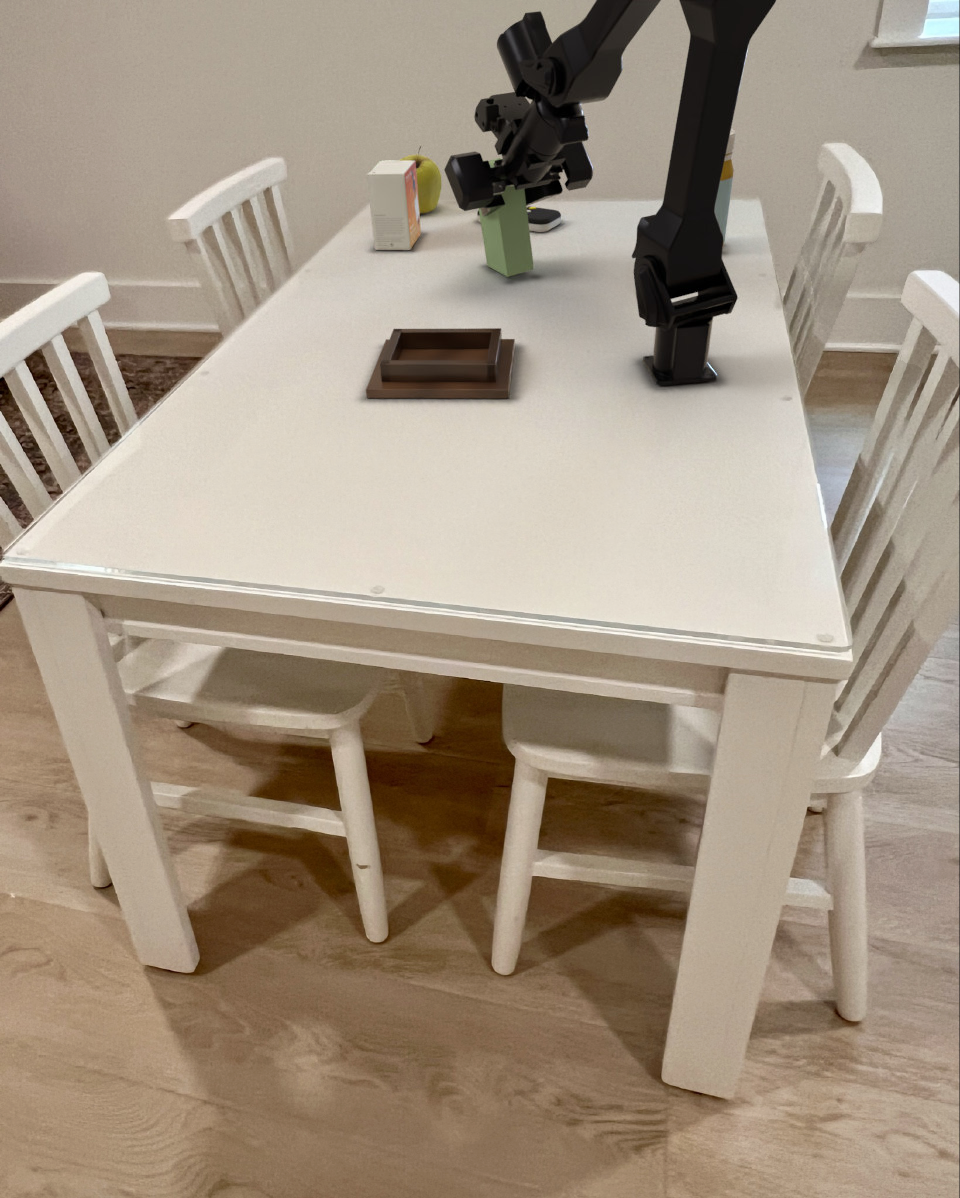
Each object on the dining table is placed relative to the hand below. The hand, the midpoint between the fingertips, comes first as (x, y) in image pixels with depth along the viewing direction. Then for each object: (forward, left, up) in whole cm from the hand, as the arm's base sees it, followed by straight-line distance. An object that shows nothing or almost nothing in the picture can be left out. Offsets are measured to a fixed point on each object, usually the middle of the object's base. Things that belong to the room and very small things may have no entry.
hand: (498, 210), depth 118 cm
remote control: (+20, -6, -8) cm, 22 cm away
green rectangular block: (-2, -1, -7) cm, 7 cm away
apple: (+30, +9, -8) cm, 32 cm away
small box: (+15, +13, -8) cm, 21 cm away
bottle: (+2, -29, -8) cm, 30 cm away
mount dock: (-31, +10, -8) cm, 34 cm away
